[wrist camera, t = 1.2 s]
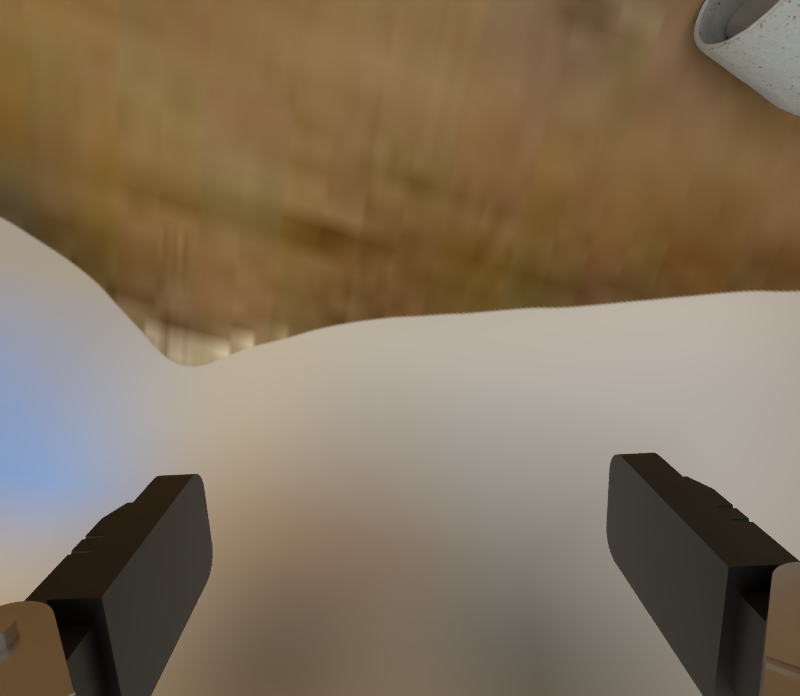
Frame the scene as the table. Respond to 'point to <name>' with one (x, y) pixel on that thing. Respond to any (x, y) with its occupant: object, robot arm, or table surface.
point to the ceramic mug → (755, 45)
